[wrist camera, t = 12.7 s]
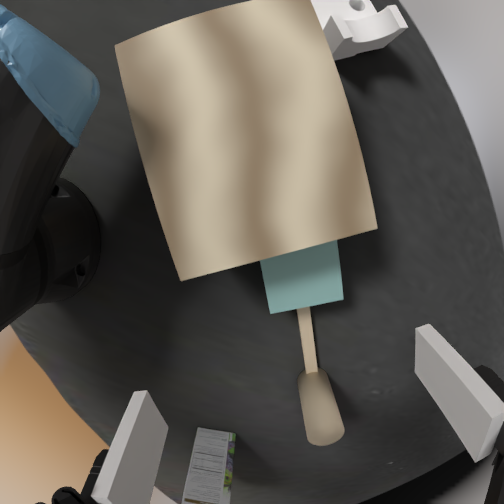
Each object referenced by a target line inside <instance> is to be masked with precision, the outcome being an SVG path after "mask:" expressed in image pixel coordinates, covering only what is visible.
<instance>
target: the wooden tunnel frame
mask: <svg viewBox="0 0 504 504" xmlns="http://www.w3.org/2000/svg"><path fill="white" fill-rule="evenodd" d="M115 50H116V55H117V60H118V65H119V70H120V74H121V79H122V83H123V88H124V92H125V96H126V100H127V105H128V109H129V113H130V117H131V121H132V125H133V128H134V132H135V136H136V140H137V144H138V147H139V151H140V155H141V158H142V162H143V165H144V169H145V172H146V176H147V179H148V183H149V186H150V189H151V193H152V196H153V199H154V203H155V206H156V209H157V212H158V215H159V219H160V222H161V225H162V228H163V231H164V234H165V237H166V240H167V243H168V246H169V249H170V252H171V255H172V258H173V261H174V264H175V267H176V269H177V272H178V275H179V278H180V281H183V280H187V279H191V278H195V277H199V276H202V275H206V274H210V273H214V272H218V271H222V270H225V269H229V268H233V267H237V266H241V265H244V264H248V263H252V262H256V261H259V260H263V259H267V258H271V257H274V256H278V255H282V254H286V253H289V252H293V251H297V250H301V249H304V248H308V247H312V246H315V245H319V244H323V243H326V242H330V241H334V240H337V239H341V238H345V237H349V236H352V235H356V234H359V233H363V232H367V231H370V230H374V229H378V228H377V222H376V217H375V212H374V207H373V202H372V197H371V192H370V187H369V183H368V178H367V174H366V169H365V165H364V161H363V157H362V153H361V149H360V145H359V141H358V137H357V134H356V130H355V126H354V123H353V119H352V116H351V112H350V109H349V105H348V102H347V99H346V95H345V92H344V89H343V86H342V83H341V80H340V77H339V74H338V71H337V68H336V65H335V62H334V59H333V56H332V54H331V51H330V48H329V45H328V43H327V40H326V37H325V35H324V32H323V30H322V27H321V24H320V22H319V20H318V17H317V15H316V12H315V10H314V7H313V5H312V3H311V0H252V1H248V2H243V3H239V4H234V5H230V6H226V7H222V8H218V9H214V10H211V11H207V12H204V13H200V14H197V15H194V16H190V17H187V18H184V19H181V20H178V21H175V22H172V23H169V24H167V25H164V26H161V27H158V28H156V29H153V30H150V31H148V32H145V33H143V34H140V35H138V36H135V37H133V38H131V39H128V40H126V41H124V42H122V43H119V44H117V45H115Z"/></svg>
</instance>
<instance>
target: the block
mask: <svg viewBox="0 0 504 504" xmlns="http://www.w3.org/2000/svg"><path fill="white" fill-rule="evenodd" d="M260 264H261V269H262V274H263V279H264V284H265V289H266V294H267V300H268V305H269V310H270V314H272V313H278V312H283V311H288V310H294V309H297V315H298V322H299V328H300V335H301V342H302V348H303V355H304V362H305V369H306V370H304V371H302V372H301V373H300V374H299V376H298V378H297V385H298V390H299V395H300V401H301V406H302V412H303V417H304V423H305V428H306V434H307V439H308V441H309V442H310V443H312V444H314V445H318V446H323V445H329V444H332V443H334V442H336V441H338V440H339V439H340V438H341V437H342V436H343V434H344V431H345V429H344V425H343V422H342V419H341V416H340V413H339V410H338V406H337V403H336V400H335V397H334V394H333V391H332V388H331V385H330V382H329V379H328V376H327V373H326V372H325V371H324V370H323V369H321V368H318V367H317V361H316V353H315V345H314V337H313V329H312V321H311V314H310V307H309V306H314V305H319V304H324V303H329V302H333V301H338V300H343V289H342V279H341V270H340V261H339V253H338V245H337V240H334V241H330V242H326V243H323V244H319V245H315V246H312V247H308V248H304V249H301V250H297V251H293V252H289V253H286V254H282V255H278V256H274V257H271V258H267V259H263V260H260Z"/></svg>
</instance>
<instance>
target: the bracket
mask: <svg viewBox="0 0 504 504" xmlns="http://www.w3.org/2000/svg"><path fill="white" fill-rule="evenodd" d="M311 3H312V5H313V7H314V10H315V12H316V15H317V17H318V20H319V22H320V24H321V27H322V30H323V32H324V35H325V37H326V40H327V43H328V45H329V48H330V51H331V54H332V56H333V59H334V61H335V60H339V59H343V58H347V57H351V56H355V55H356V54H357V53H362V52H366V51H371V50H375V49H380V48H384V47H385V46H386V45H387V44H388V43H390V42H391V41H392V40H393V39H394V38H396V37H397V36H398V35H399V34H400V33H402V32H403V31H404V30H405V29H407V28H408V26H407V24H406V22H405V20H404V19H403V17H402V15H401V13H400V12H399V10H398V8H397V6H396V5H390V6H387V7H386V8H385V9H383V10H382V11H380V12H378V13H377V12H376V10H375V8H374V6H373V5H372V3H371V1H370V0H311Z"/></svg>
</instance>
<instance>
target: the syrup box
mask: <svg viewBox="0 0 504 504" xmlns="http://www.w3.org/2000/svg"><path fill="white" fill-rule="evenodd" d="M235 438H236V434H235V433H231V432H224V431H218V430H212V429H206V428H200V427H198V428H197V432H196V436H195V441H194V446H193V450H192V455H191V460H190V464H189V469H188V473H187V478H186V483H185V488H184V493H183V498H182V503H181V504H230V494H231V484H232V472H233V461H234V449H235Z"/></svg>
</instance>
